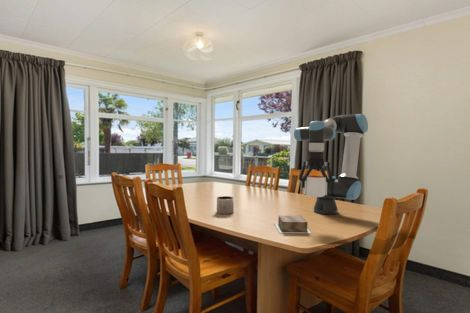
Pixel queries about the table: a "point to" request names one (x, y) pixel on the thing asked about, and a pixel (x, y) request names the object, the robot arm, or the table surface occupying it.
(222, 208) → the planter
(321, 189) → the cup
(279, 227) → the build board
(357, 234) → the table surface
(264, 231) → the table surface
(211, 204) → the table surface
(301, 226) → the base block
